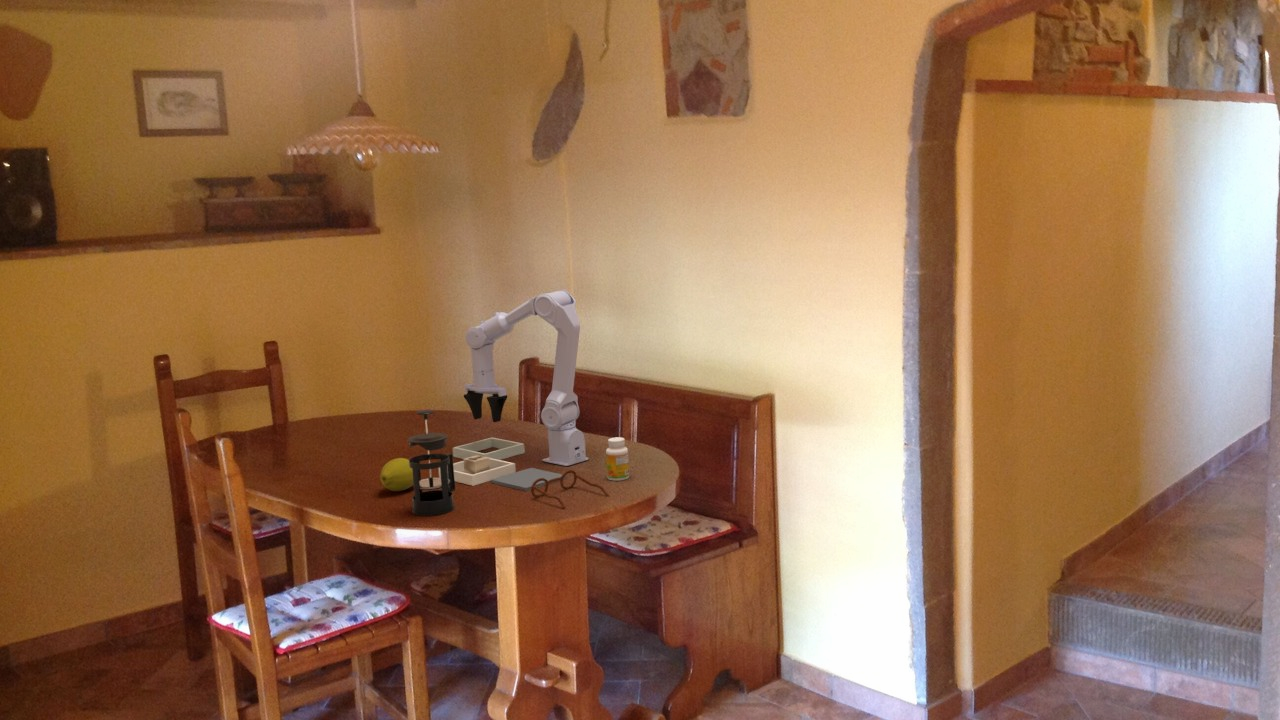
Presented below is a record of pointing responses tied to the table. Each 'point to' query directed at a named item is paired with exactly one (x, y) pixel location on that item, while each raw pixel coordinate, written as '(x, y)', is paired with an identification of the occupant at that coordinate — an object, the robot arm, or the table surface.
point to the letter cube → (476, 464)
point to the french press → (436, 499)
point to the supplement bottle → (617, 459)
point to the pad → (526, 479)
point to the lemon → (397, 475)
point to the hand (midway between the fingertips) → (487, 420)
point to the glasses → (561, 486)
